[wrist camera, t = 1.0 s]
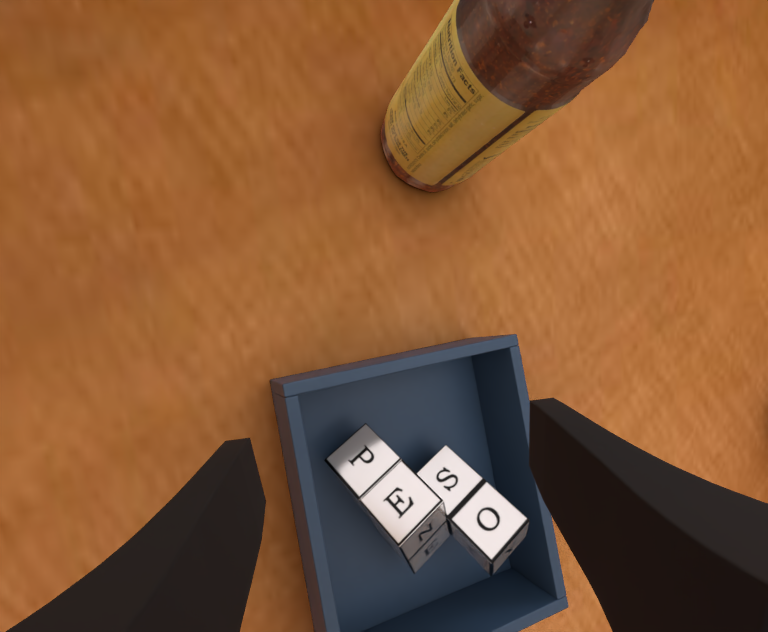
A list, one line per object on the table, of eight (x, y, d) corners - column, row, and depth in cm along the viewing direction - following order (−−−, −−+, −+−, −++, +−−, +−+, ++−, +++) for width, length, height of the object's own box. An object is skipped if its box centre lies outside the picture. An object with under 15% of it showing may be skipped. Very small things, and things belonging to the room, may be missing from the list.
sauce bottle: (468, 108, 30) (895, -305, 11) (468, 203, 29) (917, -65, 11) (370, 84, 28) (700, -477, 9) (367, 188, 27) (715, -188, 8)
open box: (516, 571, 28) (569, 607, 24) (318, 656, 24) (341, 718, 20) (472, 337, 29) (517, 333, 24) (269, 379, 24) (282, 383, 20)
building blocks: (348, 497, 27) (453, 620, 22) (323, 460, 23) (446, 601, 18) (416, 433, 28) (526, 535, 24) (404, 388, 24) (534, 501, 20)
